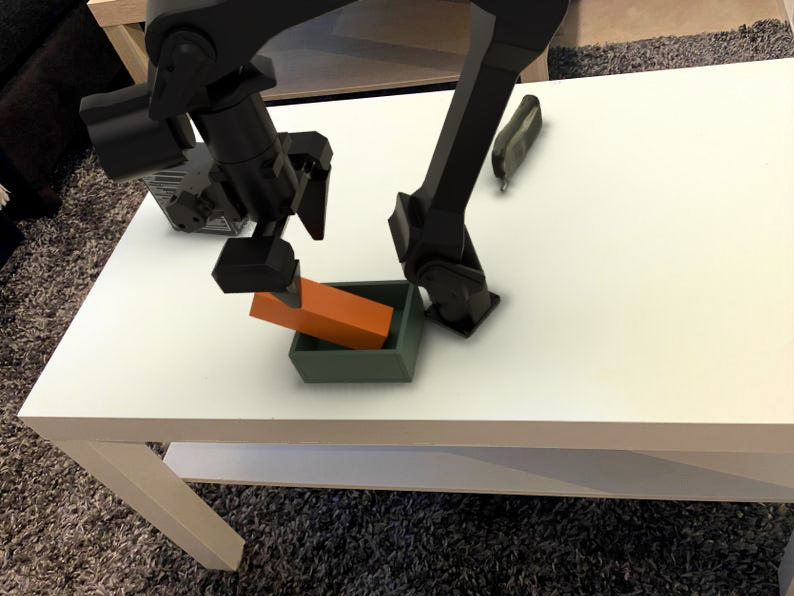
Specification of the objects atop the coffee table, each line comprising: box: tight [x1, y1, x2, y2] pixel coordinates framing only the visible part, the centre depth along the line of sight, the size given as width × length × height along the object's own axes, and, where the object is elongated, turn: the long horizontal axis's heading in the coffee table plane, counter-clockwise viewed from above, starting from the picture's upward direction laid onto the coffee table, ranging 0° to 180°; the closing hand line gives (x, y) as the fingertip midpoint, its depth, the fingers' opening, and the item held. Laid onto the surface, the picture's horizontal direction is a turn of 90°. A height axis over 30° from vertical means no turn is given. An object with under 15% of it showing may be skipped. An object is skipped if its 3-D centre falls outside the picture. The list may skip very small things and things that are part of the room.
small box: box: [140, 141, 249, 236], centre depth 96 cm, size 11×6×10 cm, turn 74°
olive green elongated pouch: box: [490, 94, 543, 193], centre depth 96 cm, size 5×3×15 cm
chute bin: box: [287, 279, 427, 384], centre depth 80 cm, size 12×10×5 cm
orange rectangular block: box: [248, 276, 394, 350], centre depth 78 cm, size 4×4×14 cm
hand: (308, 272), depth 73 cm, fingers open, 9 cm apart
